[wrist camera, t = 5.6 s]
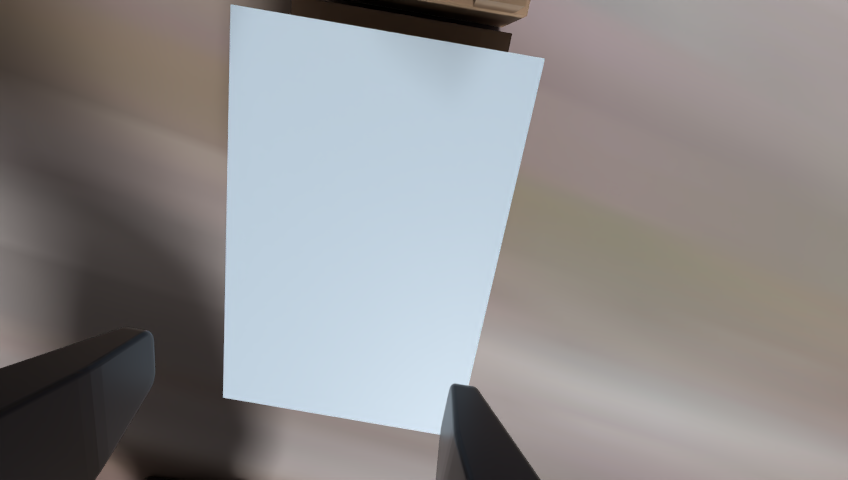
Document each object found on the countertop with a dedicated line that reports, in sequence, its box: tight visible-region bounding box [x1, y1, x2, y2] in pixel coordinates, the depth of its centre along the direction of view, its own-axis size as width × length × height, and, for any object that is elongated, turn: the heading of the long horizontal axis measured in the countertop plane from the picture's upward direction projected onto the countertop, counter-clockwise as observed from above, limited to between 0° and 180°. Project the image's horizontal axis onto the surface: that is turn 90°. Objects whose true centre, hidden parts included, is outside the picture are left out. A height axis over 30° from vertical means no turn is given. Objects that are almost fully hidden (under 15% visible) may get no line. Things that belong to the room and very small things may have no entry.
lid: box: [223, 4, 545, 435], centre depth 15 cm, size 11×7×2 cm, turn 171°
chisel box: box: [291, 0, 530, 52], centre depth 15 cm, size 16×6×8 cm, turn 171°
